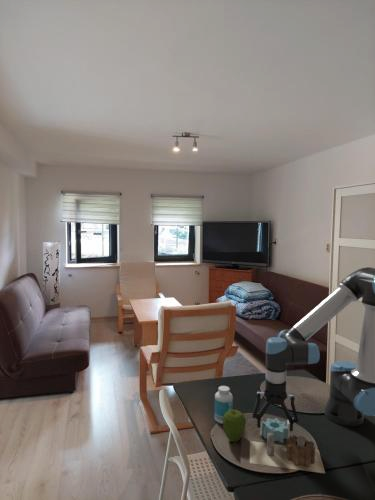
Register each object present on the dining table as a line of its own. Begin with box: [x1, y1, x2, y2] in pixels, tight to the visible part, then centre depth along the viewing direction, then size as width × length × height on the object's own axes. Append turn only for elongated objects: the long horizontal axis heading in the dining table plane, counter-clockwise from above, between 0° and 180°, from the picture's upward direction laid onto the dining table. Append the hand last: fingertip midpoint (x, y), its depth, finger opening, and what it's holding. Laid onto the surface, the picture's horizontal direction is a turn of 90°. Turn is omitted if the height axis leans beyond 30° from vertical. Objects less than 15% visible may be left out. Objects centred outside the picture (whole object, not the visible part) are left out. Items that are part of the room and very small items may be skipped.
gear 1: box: [262, 417, 287, 443], centre depth 131 cm, size 9×9×5 cm
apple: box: [222, 409, 247, 443], centre depth 129 cm, size 9×8×12 cm
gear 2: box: [286, 435, 316, 467], centre depth 118 cm, size 9×9×5 cm
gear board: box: [249, 433, 326, 474], centre depth 119 cm, size 24×12×8 cm, turn 79°
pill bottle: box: [214, 385, 234, 425], centre depth 143 cm, size 8×7×14 cm
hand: (274, 436), depth 131 cm, fingers closed on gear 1, 9 cm apart
